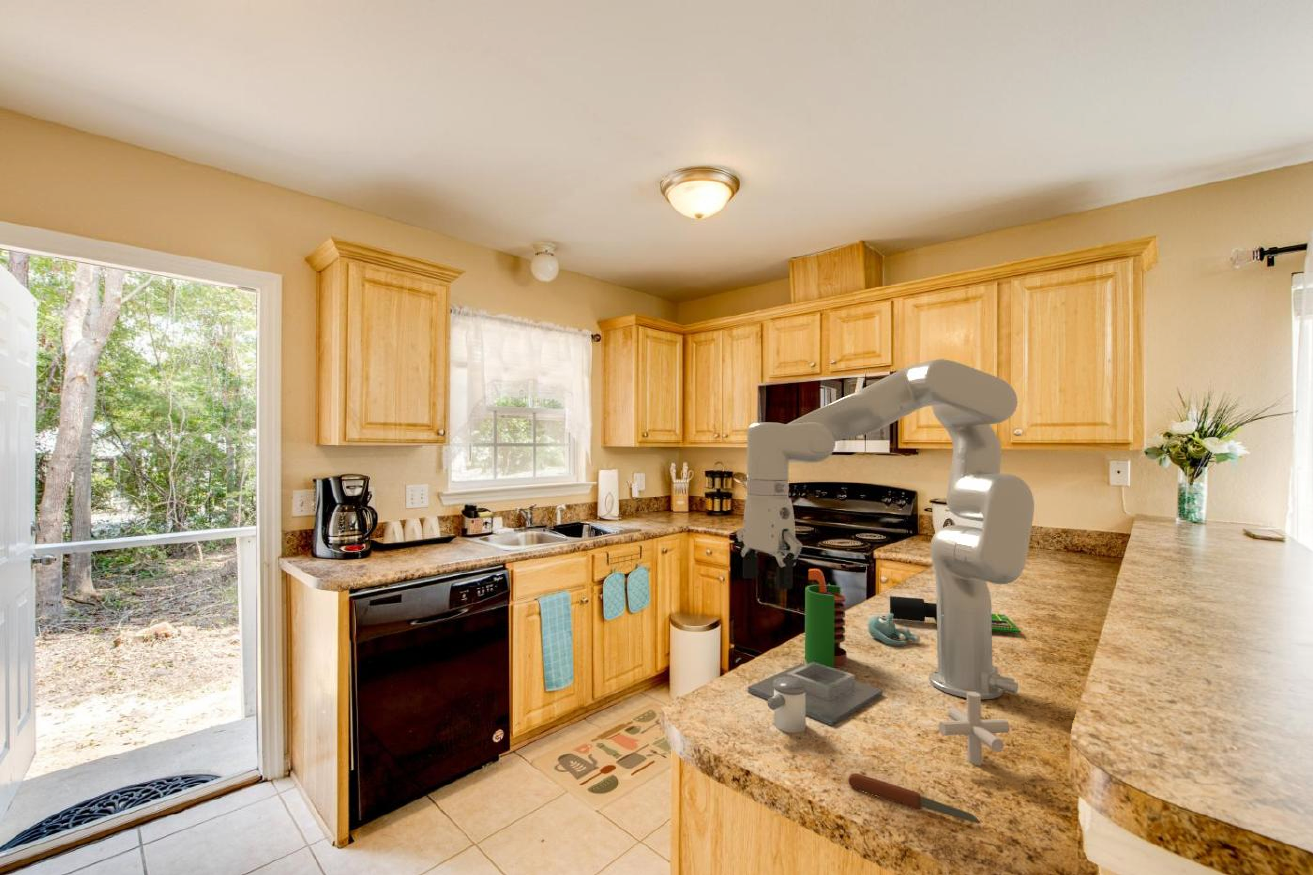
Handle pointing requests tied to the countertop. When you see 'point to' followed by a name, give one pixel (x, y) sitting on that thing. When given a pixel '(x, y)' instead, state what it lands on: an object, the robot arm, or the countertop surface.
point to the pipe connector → (975, 728)
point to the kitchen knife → (905, 796)
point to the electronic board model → (919, 610)
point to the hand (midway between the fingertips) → (766, 583)
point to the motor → (824, 622)
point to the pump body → (789, 704)
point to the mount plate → (824, 691)
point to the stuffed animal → (889, 631)
